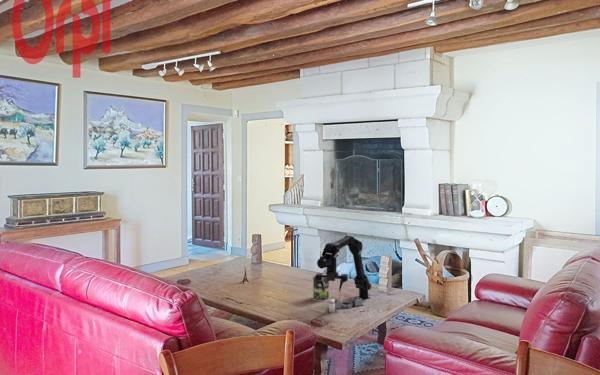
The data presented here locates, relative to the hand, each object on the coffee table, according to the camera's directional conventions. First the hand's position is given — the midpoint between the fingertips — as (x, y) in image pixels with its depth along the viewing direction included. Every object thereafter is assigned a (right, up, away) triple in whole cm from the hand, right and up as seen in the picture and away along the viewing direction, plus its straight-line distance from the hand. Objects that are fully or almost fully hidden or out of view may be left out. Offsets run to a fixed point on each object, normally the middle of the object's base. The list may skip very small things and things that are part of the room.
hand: (331, 291), depth 268 cm
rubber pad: (0, -13, +1) cm, 12 cm away
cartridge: (0, -12, +1) cm, 12 cm away
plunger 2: (+16, -11, +13) cm, 23 cm away
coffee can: (-5, -11, +26) cm, 29 cm away
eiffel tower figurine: (-58, -9, +65) cm, 88 cm away
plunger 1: (+3, -11, +8) cm, 14 cm away
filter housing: (+10, -12, +11) cm, 19 cm away
